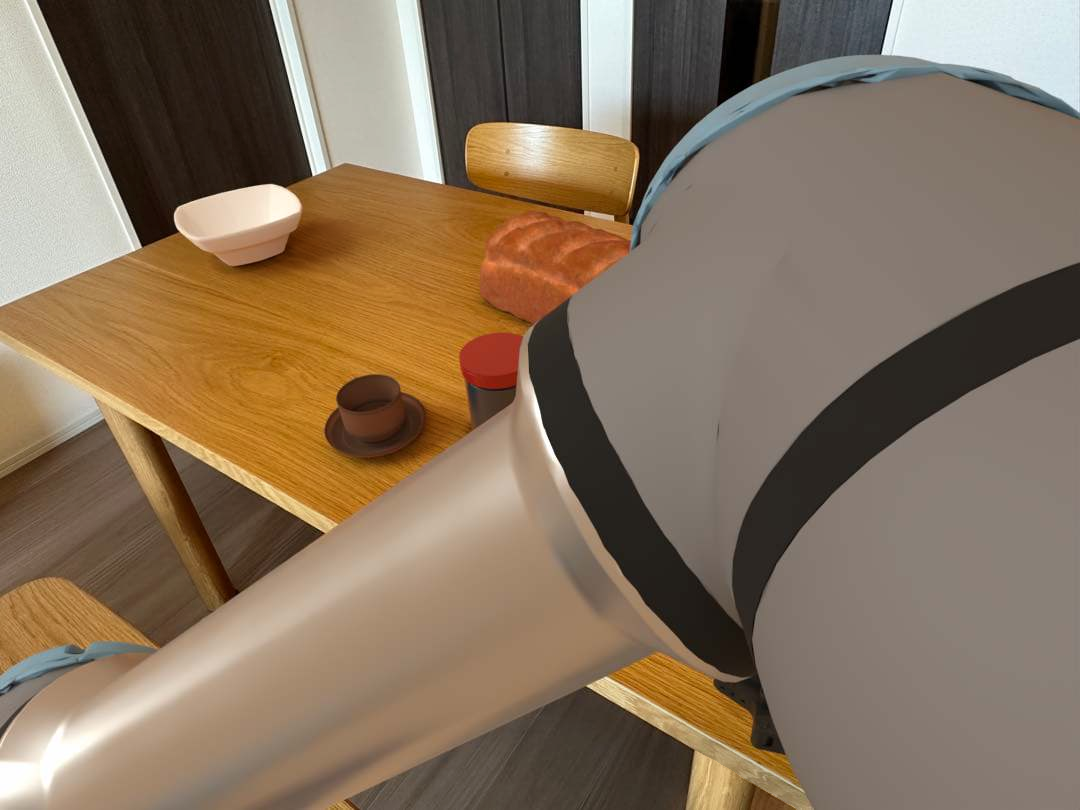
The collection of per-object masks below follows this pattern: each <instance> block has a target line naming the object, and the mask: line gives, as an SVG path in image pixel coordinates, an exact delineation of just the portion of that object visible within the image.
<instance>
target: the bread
mask: <svg viewBox="0 0 1080 810" xmlns="http://www.w3.org/2000/svg"><path fill="white" fill-rule="evenodd" d="M484 245H485V246H484V254H485V258H484V260H483V261H482V263H481V266H480V274H479V282H478V287H479V291H480V298H482V299H483V300H484V301H485V302H487V303H489V304H490V305H491V306H492V307H495V308H496V309H498V310H499V311H500V310H501V311H502V312H507V313H510V314H511V315H513V316H514V317H515V318H517V319H520V320H523V321H526V322H528V323H529V324H531V325H532V326H533V325H534V324H535V323H536V322H538V321H539V320H540V319H541V318H543V317H544V316H545V315H547V314H548V313H550V312H551V311H552V310H554V309H555V308H556V307H558V306H559V305H560V304H562V303H563V302H564V301H566V300H567V299H568V298H570V297H571V296H572V295H573V294H574V293H576V292H577V291H578V290H580V289H581V288H582V287H584V286H585V285H586V284H588V283H589V282H590V281H592V280H593V279H595V278H596V277H597V276H599V275H600V274H601V273H603V272H604V271H605V270H607V269H608V268H609V267H611V266H612V265H613V264H615V263H616V262H617V261H619V260H620V259H621V258H623V257H624V256H625V255H627V254H628V253H629V252H630V246H631V240H629V239H627V238H626V237H623V236H621V235H618V234H616V233H612V232H609V231H607V230H604V229H602V228H593V226H591V225H588V224H586V223H583V222H581V221H578V220H565V219H563V218H561V217H559V216H557V215H552V214H548V213H547V212H543V211H538V210H528V211H525V212H523V213H520V214H518V215H515V216H512V217H509V218H508V219H506V220H505V221H504V222H503V223H502V224H501V225H500V226H498V227H497V228H496V229H495V230H494V231H493V232H492V233H491V234H490V235H489V236H488V237H487V238H486V240H485V244H484Z"/></svg>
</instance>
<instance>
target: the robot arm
mask: <svg viewBox="0 0 1080 810" xmlns="http://www.w3.org/2000/svg"><path fill="white" fill-rule="evenodd" d="M630 241H631V246H630V252H629V253H628V254H627V255H625V256H624V257H623V258H621V259H620V260H619V261H617V262H616V263H615V264H613V265H612V266H611V267H609V268H608V269H607V270H605V271H604V272H603V273H601V274H600V275H599V276H597V277H596V278H595V279H593V280H592V281H590V282H589V283H588V284H586V285H585V286H584V287H582V288H581V289H580V290H578V291H577V292H576V293H574V294H573V295H572V296H571V297H570V298H568V299H567V300H566V301H564V302H563V303H562V304H560V305H559V306H558V307H556V308H555V309H554V310H552V311H551V312H550V313H548V314H547V315H545V316H544V317H543V318H541V319H540V320H539V321H538V322H536V323H535V324H534V325H533V324H532V325H530V327H529V328H528V329H527V330H526V332H525V333H524V335H522V336H523V339H522V343H521V346H520V352H519V364H518V375H517V387H516V397H515V399H514V401H513V403H512V404H510V405H509V406H507V407H506V408H505V409H503V410H502V411H500V412H499V413H497V414H496V415H495V416H493V417H492V418H490V419H489V420H487V421H486V422H485V423H483V424H482V425H480V426H479V427H477V428H476V429H474V430H473V431H472V430H471V431H470V432H469V433H467V434H466V435H464V436H463V437H462V438H460V439H459V440H457V441H456V442H455V443H453V444H452V445H450V446H448V448H445V449H444V450H443V451H442V452H440V453H439V454H437V455H436V456H434V457H433V458H431V459H430V460H429V461H427V462H425V463H424V464H423V465H422V466H420V467H419V468H417V469H416V470H414V471H413V472H411V473H410V474H409V475H407V476H406V477H404V478H402V479H401V480H400V481H398V482H396V484H394V485H393V486H391V487H390V488H388V489H387V490H386V491H384V492H383V493H381V494H380V495H379V496H377V497H376V498H374V499H373V500H371V501H370V502H368V503H367V504H365V505H364V506H363V507H361V508H359V510H357V511H355V512H354V513H352V514H351V515H350V516H348V517H347V518H345V519H344V520H342V521H341V522H339V523H338V524H337V525H335V526H334V527H333V528H331V529H330V530H328V531H327V532H325V533H324V534H322V535H321V536H319V537H318V538H317V539H315V540H314V541H313V542H311V543H309V544H308V545H307V546H305V547H304V548H303V549H301V550H300V551H298V552H297V553H296V554H294V555H292V556H290V557H289V558H288V559H287V560H286V561H284V562H282V563H280V564H279V565H278V566H277V567H275V568H274V569H272V570H271V571H270V572H268V573H267V574H265V575H264V576H262V577H261V578H259V579H258V580H256V581H255V582H253V583H252V584H251V585H249V586H248V587H246V588H245V589H243V591H241V592H239V593H238V594H237V595H235V596H234V597H232V598H231V599H229V600H228V601H226V602H225V603H224V604H222V605H221V606H219V607H218V608H216V609H215V610H214V611H212V612H211V613H209V614H208V615H206V616H205V617H203V618H202V619H201V620H199V621H198V622H197V623H195V624H194V625H192V626H190V628H188V629H186V630H185V631H184V632H182V633H181V634H179V635H178V636H177V637H175V638H174V639H172V640H171V641H169V642H167V643H166V644H165V645H163V646H162V647H161V648H159V649H158V648H155V647H152V646H147V645H142V644H137V643H134V642H126V641H112V640H111V641H110V640H104V641H103V640H99V641H98V640H97V641H93V642H91V643H90V644H89V645H88V646H87V648H85V649H84V648H81V647H79V646H78V645H76V644H74V643H69V644H63V645H59V646H55V647H51V648H49V649H44V650H42V651H40V652H38V653H37V652H36V653H35V654H33V655H29V656H28V657H26V658H24V659H22V660H21V661H18V662H17V663H15V664H14V665H12V666H11V667H9V669H7V670H5V671H4V672H3V673H2V674H1V675H0V810H326V809H328V808H331V807H333V806H334V805H338V804H339V803H341V802H343V801H345V800H348V799H350V798H351V797H354V796H356V795H357V794H360V793H362V792H364V791H367V790H369V789H371V788H372V787H375V786H377V785H379V784H382V783H383V782H385V781H387V780H390V779H392V778H394V777H396V776H399V775H400V774H402V773H404V772H407V771H409V770H411V769H414V768H416V767H417V766H419V765H421V764H424V763H425V762H428V761H430V760H432V759H435V758H436V757H438V756H440V755H443V754H444V753H447V752H449V751H451V750H453V749H456V748H457V747H460V746H462V745H464V744H466V743H468V742H470V741H473V740H474V739H476V738H478V737H481V736H483V735H485V734H487V733H490V732H491V731H494V730H496V729H498V728H500V727H502V726H505V725H507V724H508V723H511V722H512V721H515V720H517V719H519V718H521V717H523V716H525V715H527V714H530V713H532V712H534V711H536V710H538V709H540V708H542V707H545V706H547V705H549V704H551V703H553V702H555V701H557V700H559V699H561V698H564V697H566V696H568V695H570V694H572V693H575V692H576V691H579V690H581V689H583V688H585V687H587V686H589V685H590V684H594V683H596V682H597V681H600V680H601V679H604V678H607V677H608V676H610V675H612V674H615V673H616V672H618V671H621V670H623V669H625V668H628V667H629V666H631V665H634V664H636V663H638V662H640V661H642V660H645V659H646V658H648V657H651V656H653V655H655V654H657V653H658V654H662V655H663V656H664V655H665V656H666V657H668V658H670V659H672V660H675V661H676V662H679V663H681V664H683V665H686V666H687V667H689V668H691V669H693V670H695V671H697V672H699V673H702V674H703V675H706V676H707V677H710V678H712V679H713V681H712V686H713V687H714V688H715V689H716V690H717V691H718V692H719V693H721V694H722V695H723V696H725V697H726V698H728V699H729V700H731V701H733V702H734V703H736V704H737V705H739V706H740V707H742V708H743V709H744V710H746V711H747V712H749V714H750V715H751V717H752V726H751V733H750V737H749V740H750V743H751V745H752V746H753V747H754V748H755V749H757V750H761V751H764V752H765V751H766V752H769V753H770V752H771V753H776V754H779V755H784V756H786V758H787V761H788V763H789V766H790V768H791V770H792V772H793V773H794V775H795V777H796V779H797V781H798V783H799V785H800V787H801V789H802V790H803V792H804V794H805V796H806V798H807V799H808V802H809V803H810V805H811V807H812V809H813V810H1080V112H1079V111H1078V110H1077V109H1075V108H1074V107H1072V105H1070V104H1068V103H1067V102H1066V101H1065V100H1063V99H1062V98H1059V97H1058V96H1055V95H1052V94H1050V93H1049V92H1047V91H1045V90H1043V89H1042V88H1040V87H1038V86H1035V85H1032V84H1029V83H1026V82H1023V81H1021V80H1017V79H1015V78H1014V77H1012V76H1010V75H1007V74H1004V73H1001V72H997V71H994V70H990V69H986V68H980V67H976V66H970V65H962V64H955V63H940V62H937V61H932V60H927V59H923V58H919V57H913V56H904V55H895V54H856V55H855V54H854V55H847V56H846V55H845V56H837V57H832V58H827V59H822V60H817V61H813V62H810V63H807V64H803V65H800V66H797V67H794V68H790V69H787V70H784V71H781V72H779V73H777V74H774V75H771V76H769V77H766V78H764V79H762V80H761V81H759V82H757V83H754V84H752V85H750V86H749V87H747V88H745V89H743V90H742V91H740V92H738V93H737V94H735V95H733V96H732V97H730V98H728V99H727V100H726V101H724V102H722V103H721V104H720V105H719V106H717V107H716V108H715V109H713V110H712V111H710V112H709V113H708V114H707V115H706V116H705V117H703V118H702V119H701V120H700V121H698V122H697V123H696V124H695V125H694V126H693V127H692V128H691V129H690V130H688V132H687V133H686V134H685V135H683V137H682V138H681V139H680V141H678V142H677V144H676V145H675V146H674V147H673V148H672V149H671V151H670V152H669V153H668V155H667V156H666V157H665V159H664V160H663V162H662V163H661V165H660V166H659V169H658V170H657V172H656V173H655V175H654V176H653V178H652V180H651V181H650V183H649V184H648V187H647V190H646V192H645V194H644V196H643V199H642V202H641V205H640V207H639V209H638V211H637V213H636V215H635V219H634V221H633V225H632V230H631V237H630Z"/></svg>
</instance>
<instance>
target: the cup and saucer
mask: <svg viewBox="0 0 1080 810" xmlns="http://www.w3.org/2000/svg"><path fill="white" fill-rule="evenodd" d="M335 400H336V401H335V402H336V405H337V407H336V409H335V410H333V411H332V413H330V415H329V416H328V418H327V420H326V422H325V425H324V437H325V439H326V441H327V443H328V444H329V446H330V447H332V449H334V450H335V451H337V452H338V453H340V454H342V455H345V456H348V457H354V458H363V459H365V458H367V459H369V458H371V459H372V458H377V457H378V458H379V457H383V456H387V455H390V454H392V453H395V452H397V451H399V450H401V449H403V448H405V447H406V446H408V445H409V444H411V443H412V442H413V441H414V440H415V439H416V438H417V437H418V436H419V435H420V434H421V432H422V431H423V429H424V427H425V424H426V418H427V412H426V409H425V407H424V404H423V403H422V402H421V401H420V400H419V399H418V398H417V397H415V396H413V395H411V394H409V393H406V392H403V391H402V390H401V386H400V383H399V382H398V381H397V380H396V379H395V378H394V377H391V376H390V375H386V374H379V373H378V374H377V373H376V374H366V375H362V376H359V377H358V376H355V377H353V379H351V380H349V381H348V382H346V383H345V384H343V385H342V386H341V387H340V388H339V390H338V391H337V393H336V397H335Z"/></svg>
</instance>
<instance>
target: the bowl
mask: <svg viewBox="0 0 1080 810" xmlns="http://www.w3.org/2000/svg"><path fill="white" fill-rule="evenodd" d="M303 209H304V208H303V205H302V203H301V200H300V199H299V198H298V196H297V195H296V194H294V193H293V192H292V191H291V190H289V189H287V188H285V187H284V186H281V185H277V184H274V183H267V184H260V185H253V186H248V187H243V188H238V189H234V190H229V191H224V192H220V193H217V194H216V193H215V194H212V195H209V196H206V197H201V198H198V199H196V200H193V201H189V202H187V203H185V204H181V205H179V206H177V207H176V209H175V211H174V213H173V221H174V225H175V227H176V229H177V230H178V231H179V232H180V233H181V234H182V235H183V236H184V237H185V239H187V240H189V241H190V242H191V243H192V244H193V245H195V246H196V247H197V248H199V249H200V250H202V251H204V252H207V253H209V254H213V255H214V256H215V257H217V258H218V259H219V260H220V261H221V262H223V263H224V264H226V265H228V266H229V267H238V266H243V265H248V264H253V263H257V262H260V261H264V260H266V259H269V258H272V257H274V256H277V255H280V254H282V253H284V251H285V250H286V245H287V243H288V240H289V236H290V234H291V233H292V232H294V231H295V230H297V228H298V226H299V223H300V220H301V217H302V214H303Z"/></svg>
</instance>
